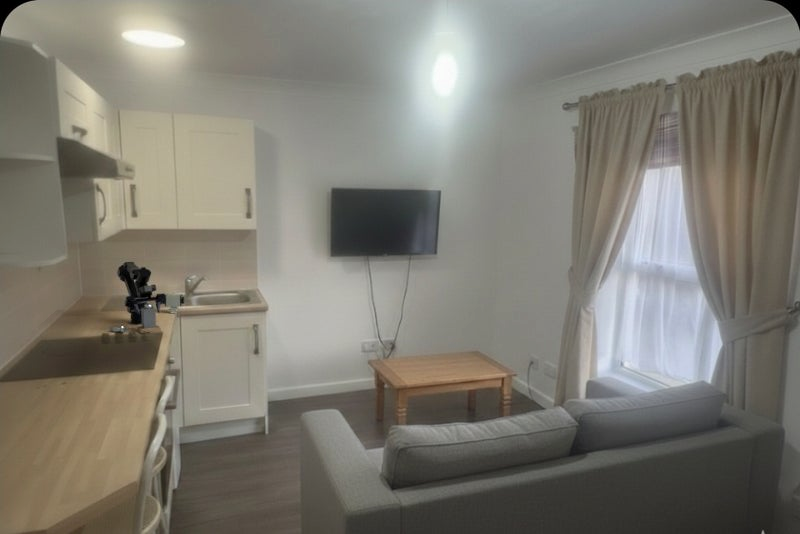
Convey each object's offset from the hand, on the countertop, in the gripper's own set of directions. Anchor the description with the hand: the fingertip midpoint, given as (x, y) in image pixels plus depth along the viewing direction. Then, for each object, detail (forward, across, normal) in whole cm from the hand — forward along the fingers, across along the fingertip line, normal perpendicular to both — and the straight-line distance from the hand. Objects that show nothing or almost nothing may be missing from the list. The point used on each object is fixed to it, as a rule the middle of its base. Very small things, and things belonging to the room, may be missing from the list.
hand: (149, 313), depth 260 cm
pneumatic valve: (-20, +24, +34) cm, 46 cm away
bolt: (+1, -13, +12) cm, 18 cm away
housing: (+4, 0, +6) cm, 8 cm away
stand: (+6, 0, +8) cm, 10 cm away
